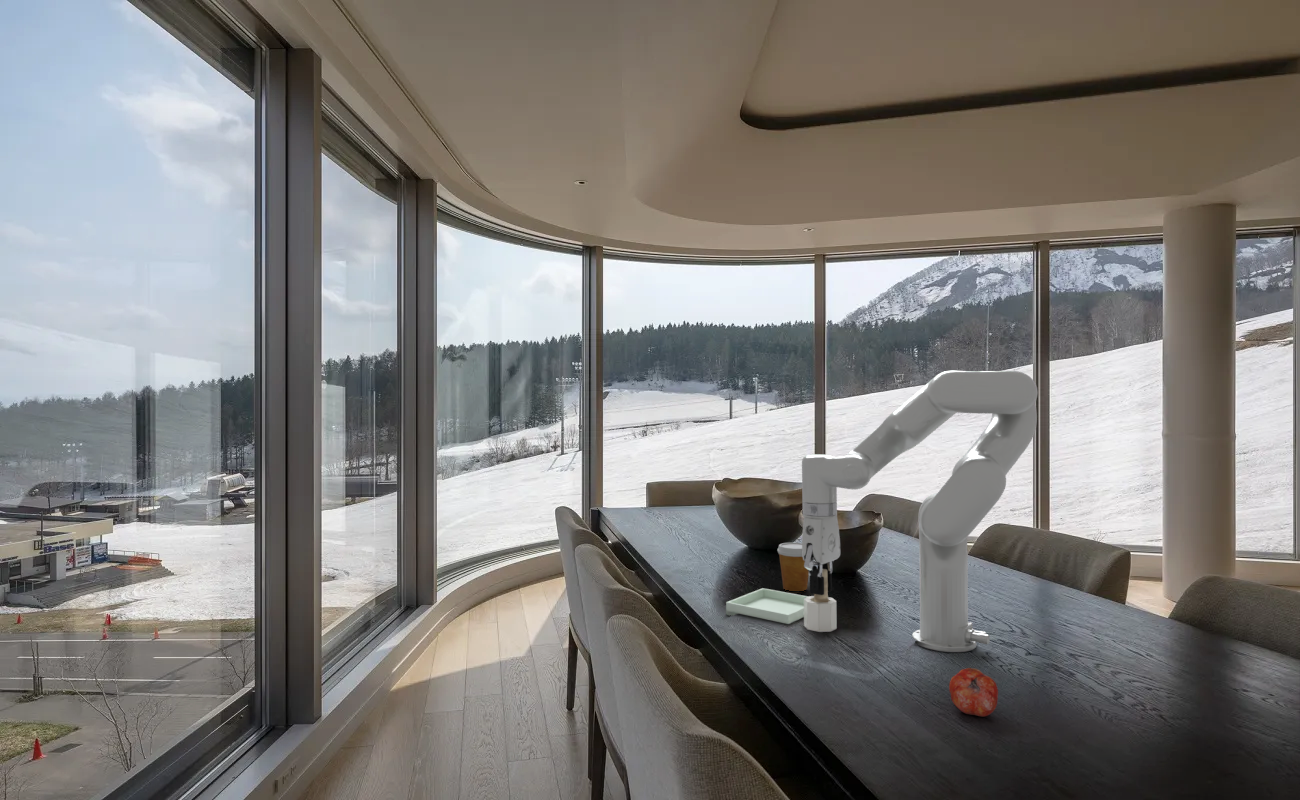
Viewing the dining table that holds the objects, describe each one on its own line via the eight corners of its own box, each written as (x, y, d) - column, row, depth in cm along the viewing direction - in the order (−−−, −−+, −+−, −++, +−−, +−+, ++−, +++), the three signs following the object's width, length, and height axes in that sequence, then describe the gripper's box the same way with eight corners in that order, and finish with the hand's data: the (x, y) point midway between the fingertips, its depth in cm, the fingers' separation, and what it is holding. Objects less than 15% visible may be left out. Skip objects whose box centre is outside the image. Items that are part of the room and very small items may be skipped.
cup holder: (840, 630, 163) (840, 599, 163) (827, 638, 158) (827, 605, 158) (813, 624, 167) (813, 594, 167) (799, 632, 162) (799, 600, 162)
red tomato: (948, 715, 124) (939, 695, 117) (959, 674, 127) (950, 653, 120) (995, 732, 119) (988, 712, 113) (1005, 689, 123) (999, 667, 116)
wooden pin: (830, 623, 163) (829, 569, 163) (824, 626, 160) (823, 572, 160) (818, 621, 165) (817, 567, 165) (812, 624, 162) (811, 570, 162)
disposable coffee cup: (810, 585, 203) (810, 542, 203) (815, 594, 194) (814, 549, 194) (776, 584, 204) (775, 542, 204) (778, 593, 195) (778, 548, 195)
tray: (823, 611, 178) (823, 599, 178) (788, 628, 165) (788, 615, 165) (762, 599, 189) (762, 588, 189) (726, 614, 176) (726, 602, 176)
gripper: (818, 516, 154) (819, 603, 154) (851, 507, 166) (852, 587, 166) (786, 513, 159) (787, 597, 159) (821, 504, 171) (822, 582, 171)
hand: (820, 591), depth 162 cm, fingers closed on wooden pin, 3 cm apart
